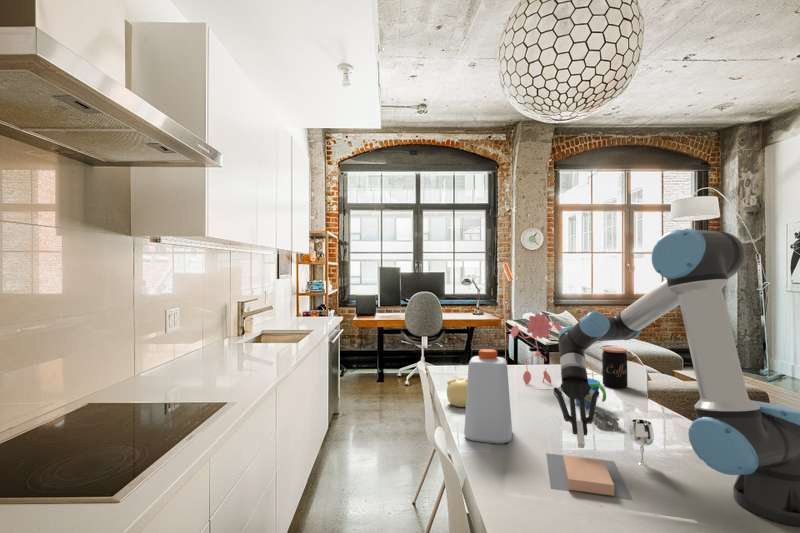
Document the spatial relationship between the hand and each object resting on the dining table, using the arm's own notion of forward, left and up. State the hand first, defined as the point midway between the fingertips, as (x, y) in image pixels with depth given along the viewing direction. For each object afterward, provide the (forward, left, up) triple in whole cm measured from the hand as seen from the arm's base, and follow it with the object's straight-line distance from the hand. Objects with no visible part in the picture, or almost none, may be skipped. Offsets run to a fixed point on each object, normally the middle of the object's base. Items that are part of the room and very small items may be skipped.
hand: (581, 445), depth 112 cm
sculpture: (+61, -5, -6) cm, 62 cm away
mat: (-3, +3, -6) cm, 8 cm away
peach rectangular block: (-1, +1, -4) cm, 4 cm away
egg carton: (+19, -37, -7) cm, 42 cm away
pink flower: (+67, -57, -6) cm, 88 cm away
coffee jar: (+49, -88, -6) cm, 101 cm away
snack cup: (+36, -50, -6) cm, 62 cm away
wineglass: (-7, -17, -6) cm, 19 cm away
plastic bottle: (+31, +7, -6) cm, 32 cm away
